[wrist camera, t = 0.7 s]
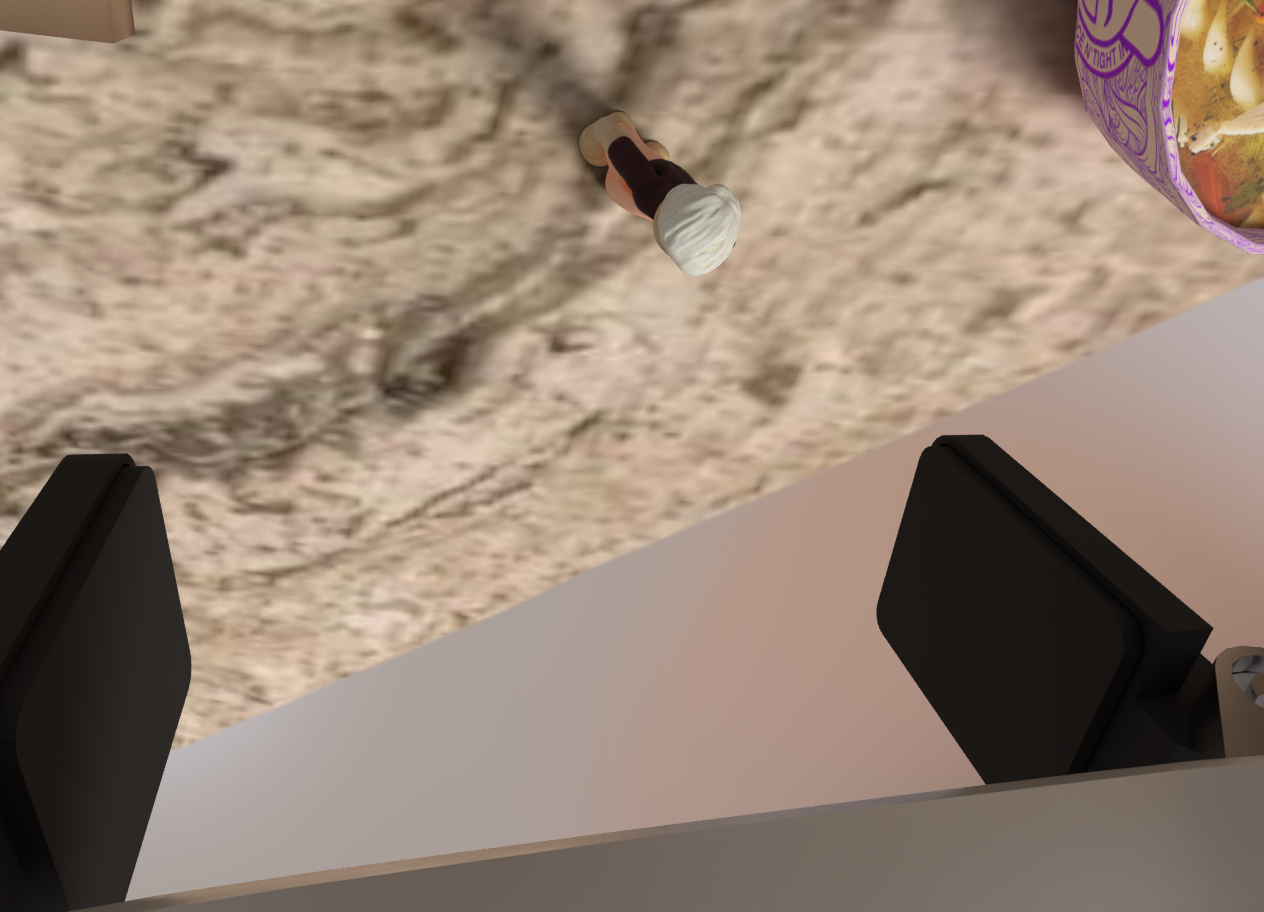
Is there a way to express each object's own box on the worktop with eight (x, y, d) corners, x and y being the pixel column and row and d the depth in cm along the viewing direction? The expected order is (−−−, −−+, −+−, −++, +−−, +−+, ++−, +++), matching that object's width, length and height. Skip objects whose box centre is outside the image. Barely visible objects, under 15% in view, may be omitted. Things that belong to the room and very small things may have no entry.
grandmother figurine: (543, 158, 41) (587, 242, 30) (584, 81, 39) (645, 140, 29) (677, 234, 44) (760, 335, 33) (719, 165, 42) (819, 247, 32)
